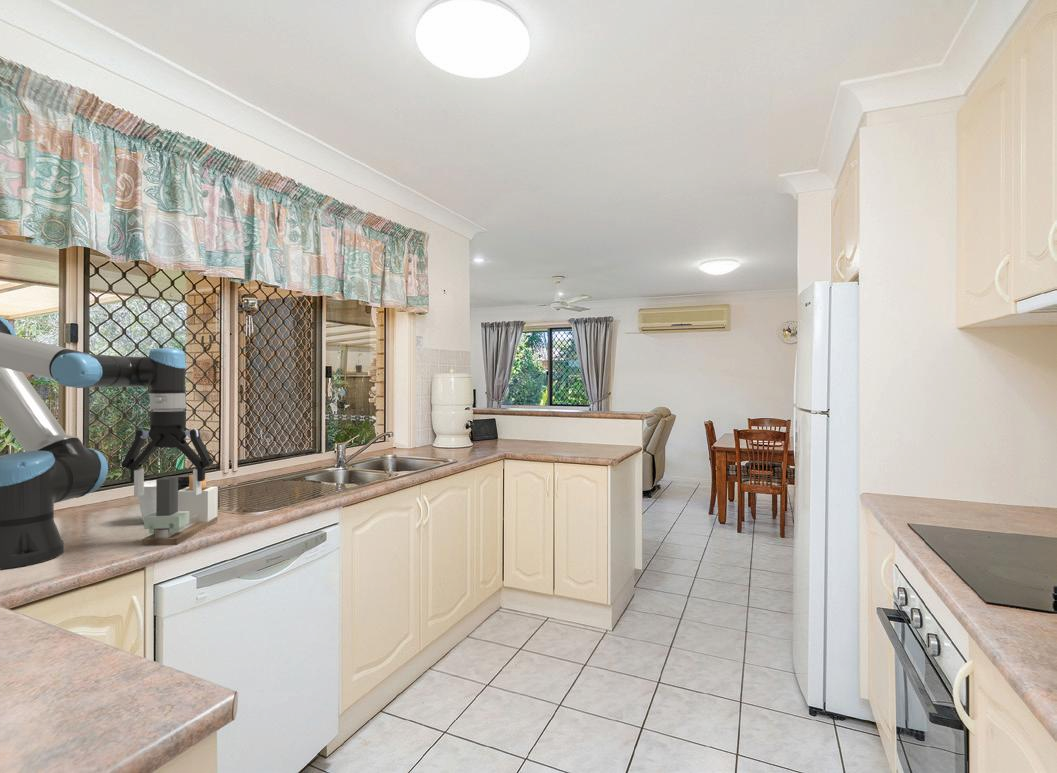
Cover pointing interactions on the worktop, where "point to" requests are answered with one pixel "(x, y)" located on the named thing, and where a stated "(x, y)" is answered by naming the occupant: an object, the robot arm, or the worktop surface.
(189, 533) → the track
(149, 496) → the cup
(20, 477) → the robot arm
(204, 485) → the button
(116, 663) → the worktop surface
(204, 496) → the cabinet
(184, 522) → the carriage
